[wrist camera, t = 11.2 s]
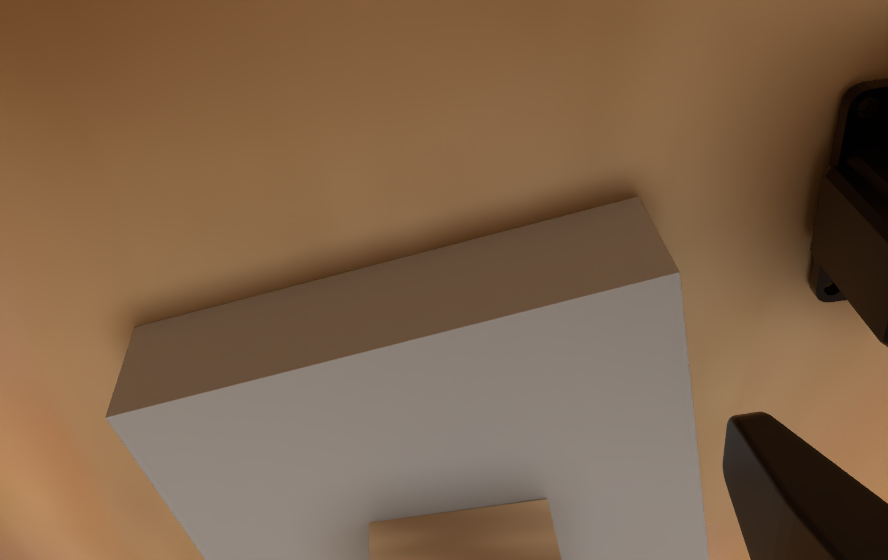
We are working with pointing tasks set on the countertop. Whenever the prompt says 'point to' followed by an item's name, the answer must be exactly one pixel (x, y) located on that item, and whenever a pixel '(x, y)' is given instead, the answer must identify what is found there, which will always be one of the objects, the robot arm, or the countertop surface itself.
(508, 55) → the countertop surface
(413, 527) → the beech block
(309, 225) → the countertop surface
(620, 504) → the grey riser
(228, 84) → the countertop surface
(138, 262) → the countertop surface
